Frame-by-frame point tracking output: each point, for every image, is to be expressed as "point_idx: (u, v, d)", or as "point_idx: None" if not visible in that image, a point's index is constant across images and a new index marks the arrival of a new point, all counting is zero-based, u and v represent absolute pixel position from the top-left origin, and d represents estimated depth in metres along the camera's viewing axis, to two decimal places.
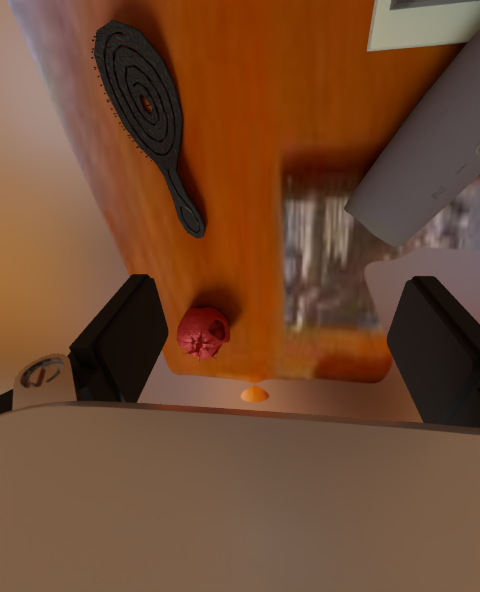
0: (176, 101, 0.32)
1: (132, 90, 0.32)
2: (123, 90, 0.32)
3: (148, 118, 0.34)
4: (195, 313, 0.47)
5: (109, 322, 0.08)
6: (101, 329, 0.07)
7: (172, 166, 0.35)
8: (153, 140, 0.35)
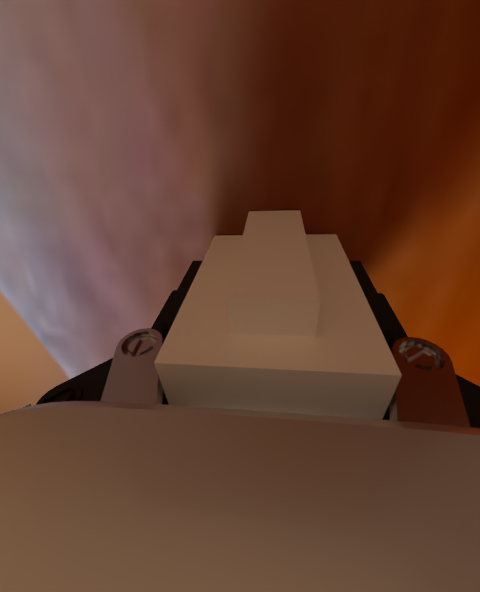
0: None
1: None
2: None
3: None
4: None
5: None
6: None
7: None
8: None
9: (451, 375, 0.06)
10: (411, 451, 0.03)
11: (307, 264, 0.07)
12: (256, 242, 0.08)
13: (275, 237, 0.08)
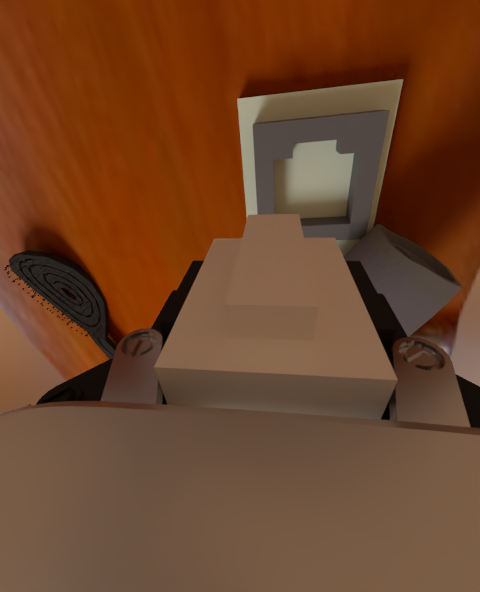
0: (95, 291, 0.35)
1: (54, 285, 0.35)
2: (46, 286, 0.35)
3: (73, 301, 0.36)
4: None
5: None
6: None
7: (102, 336, 0.38)
8: (82, 315, 0.38)
9: (451, 375, 0.06)
10: (411, 451, 0.03)
11: (305, 269, 0.07)
12: (255, 247, 0.08)
13: (274, 241, 0.08)
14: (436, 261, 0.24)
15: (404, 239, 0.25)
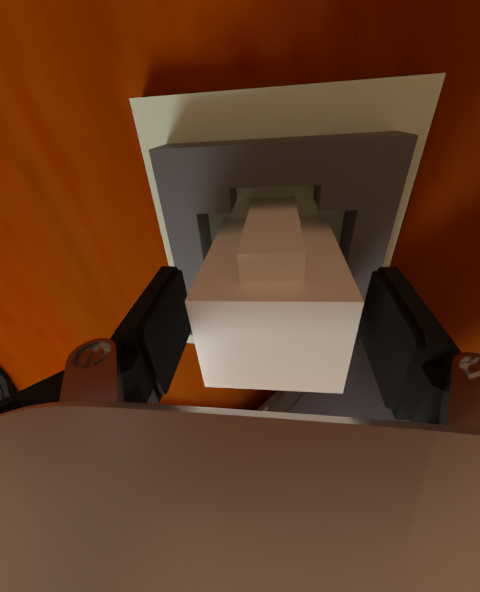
0: None
1: None
2: None
3: None
4: None
5: (148, 309, 0.08)
6: (142, 315, 0.08)
7: None
8: None
9: None
10: (411, 451, 0.03)
11: (298, 231, 0.09)
12: (258, 219, 0.10)
13: (274, 215, 0.10)
14: None
15: None
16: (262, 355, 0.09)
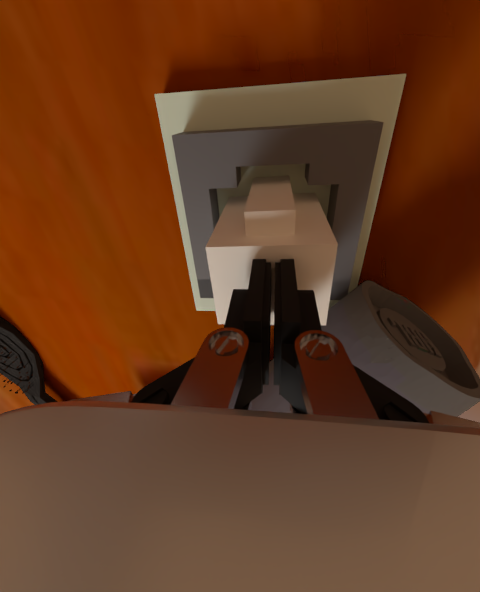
0: (20, 343, 0.28)
1: None
2: None
3: None
4: None
5: (262, 300, 0.08)
6: (262, 305, 0.08)
7: (36, 393, 0.31)
8: (11, 367, 0.31)
9: (345, 358, 0.06)
10: (411, 451, 0.03)
11: (290, 198, 0.12)
12: (259, 191, 0.13)
13: (272, 188, 0.13)
14: (444, 334, 0.17)
15: (400, 299, 0.18)
16: None
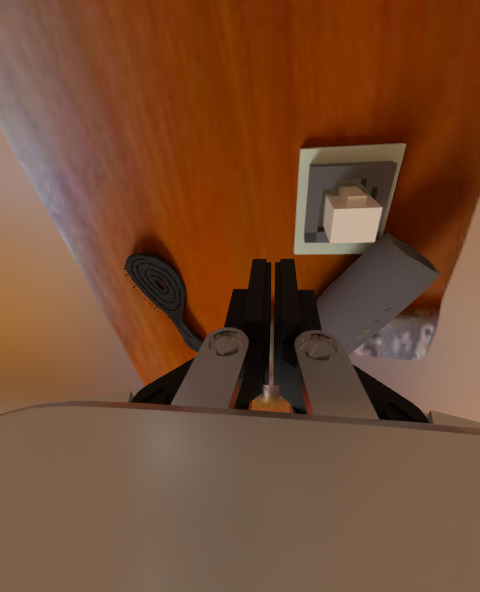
0: (180, 283, 0.47)
1: (150, 279, 0.47)
2: (144, 279, 0.47)
3: (161, 291, 0.48)
4: None
5: (262, 300, 0.08)
6: (262, 305, 0.08)
7: (180, 318, 0.50)
8: (165, 302, 0.50)
9: (345, 358, 0.06)
10: (411, 451, 0.03)
11: (362, 192, 0.30)
12: (346, 189, 0.32)
13: (351, 188, 0.32)
14: (424, 259, 0.36)
15: (403, 243, 0.37)
16: (351, 228, 0.30)
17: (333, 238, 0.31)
